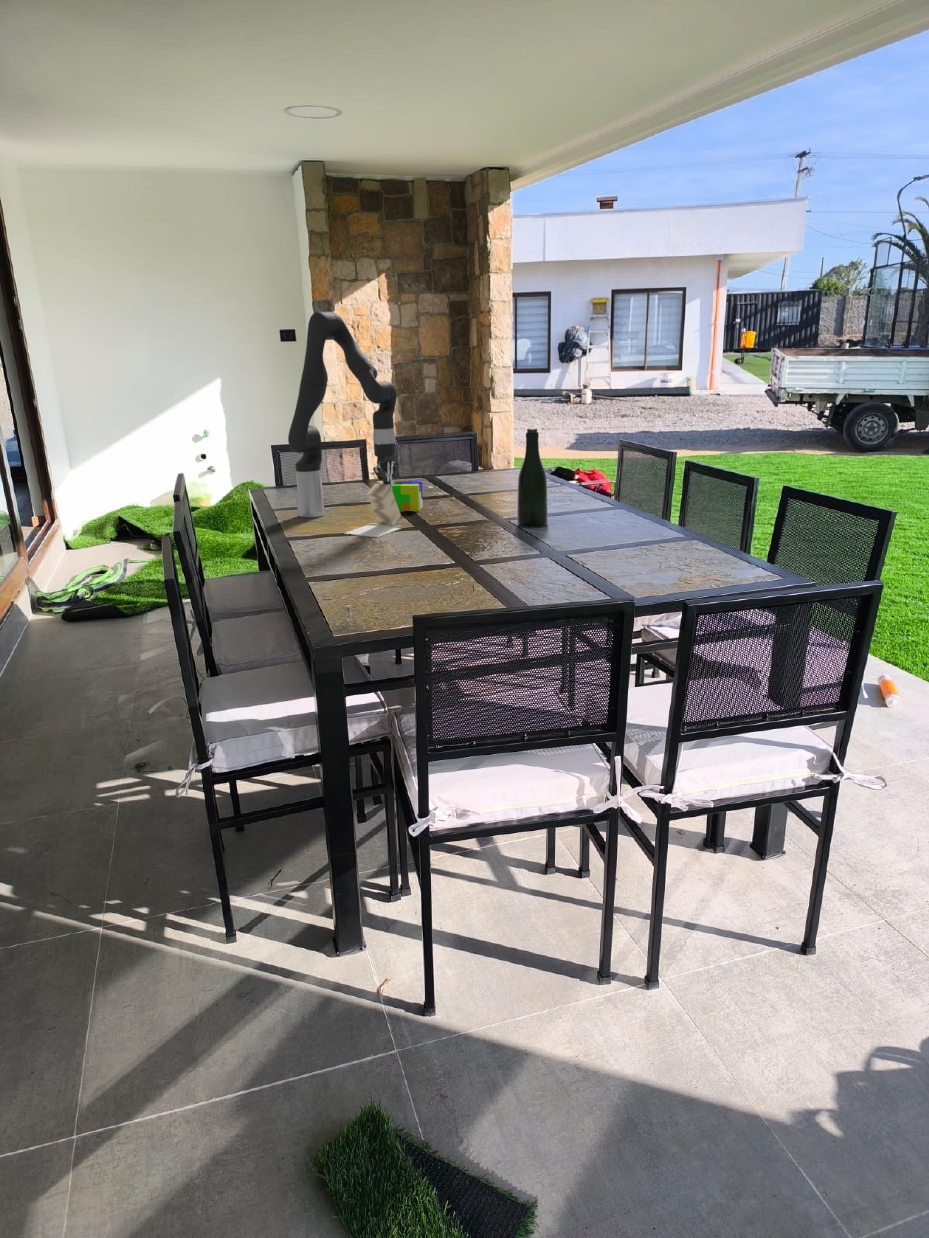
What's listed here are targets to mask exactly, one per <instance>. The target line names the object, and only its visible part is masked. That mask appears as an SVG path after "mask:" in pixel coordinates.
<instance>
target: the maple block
mask: <svg viewBox="0 0 929 1238" xmlns="http://www.w3.org/2000/svg"><path fill="white" fill-rule="evenodd" d="M366 494H367V497H368V500H369V503H370V505H371V507H372V510H373V514H374V516H375V517H376V521H377V524H386V525H396V526H397V523H399V521H400V519H402V515H401V512H400V511H399V508H398V506H397V503H396V500H395V497H394V495H393V492H392V485H391V486H390V484H383V483H374V485H373V486H372V487H371V488H370V490H369V491H368V492H367V493H366Z"/></svg>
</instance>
